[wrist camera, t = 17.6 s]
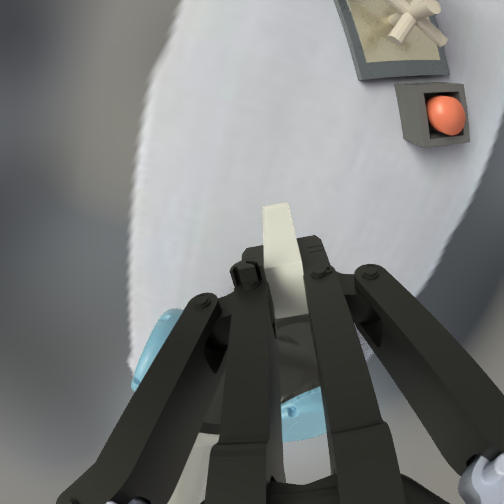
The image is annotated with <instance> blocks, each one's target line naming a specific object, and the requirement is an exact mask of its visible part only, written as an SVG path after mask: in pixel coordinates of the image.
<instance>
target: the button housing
mask: <svg viewBox="0 0 504 504" xmlns="http://www.w3.org/2000/svg"><path fill="white" fill-rule="evenodd" d="M394 86H395V90H396V95H397V101H398V106H399V112H400V118H401V124H402V130H403V138H404V139H405V140H408V141H410V142H412V143H414V144H417V145H419V146H421V147H423V148H428V147H435V146H442V145H450V144H458V143H467V142H470V135H469V123H468V113H467V105H466V97H465V91H464V85H463V84H457V83H446V82H425V83H407V84H394ZM433 95H441V96H448V97H453V98H455V99H457V100H458V101H459V102H460V103H461V105H462V106H463V108H464V111H465V124H464V127H463V129H462V130H461V132H460V133H458V134H456V135H448V134H445V133H442V132H439V131H436V130H434V129H432V128H431V127H430V126H429V125H428V118H427V111H426V105H425V102H426V101H427V99H428V98H429V97H431V96H433Z"/></svg>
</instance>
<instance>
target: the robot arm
mask: <svg viewBox="0 0 504 504" xmlns="http://www.w3.org/2000/svg"><path fill="white" fill-rule="evenodd" d="M230 274H231V277H232V280H233V284H234V287H235V289H234V291H233V292H232V293H230V294H229V295H226V296H224V297H221V298H217V296H216V295H215V294H213V293H202V294H199V295H197V296H195V297H194V298H192V299H191V300H190V301H189V302H188V304H187V306H186V307H185V309H184V310H181V309H170V310H168V311H166V312H165V313H164V314H163V315H162V316H161V317H160V319H159V320H158V322H157V323H156V325H155V327H154V329H153V331H152V333H151V335H150V337H149V339H148V341H147V343H146V345H145V348H144V350H143V352H142V354H141V357H140V359H139V362H138V365H137V367H136V370H135V375H134V378H133V381H132V384H131V387H132V390H133V391H135V393H134V395H133V396H132V398H131V400H130V402H129V403H128V405H127V407H126V409H125V410H124V412H123V414H122V416H121V417H120V419H119V421H118V423H117V424H116V426H115V428H114V430H113V432H112V433H111V435H110V437H109V439H108V441H107V442H106V444H105V446H104V448H103V450H102V451H101V453H100V455H99V457H98V459H97V461H96V462H95V463H94V464H93V465H92V466H91V467H90V468H89V469H88V470H87V471H86V472H85V473H84V474H83V475H82V476H81V477H79V478H78V479H77V480H76V481H75V482H74V483H73V484H72V485H71V486H69V487H68V488H67V489H66V490H65V491H64V492H63V493H62V494H61V495H60V496H59V497H58V499H57V502H56V504H450V503H448V502H446V501H445V500H443V499H442V498H440V497H439V496H437V495H435V494H434V493H432V492H431V491H429V490H428V489H426V488H425V487H423V486H422V485H420V484H419V483H417V482H416V481H414V480H413V479H411V478H409V477H407V476H405V475H403V474H400V470H399V465H398V461H397V456H396V452H395V448H394V444H393V439H392V435H391V432H390V429H389V426H388V424H387V423H386V422H384V421H383V420H382V417H381V414H380V410H379V407H378V403H377V399H376V395H375V392H374V388H373V385H372V381H371V378H370V374H369V371H368V367H367V364H366V360H365V357H364V354H363V351H362V347H361V344H360V341H359V338H358V335H357V332H356V328H355V325H356V327H357V329H358V330H359V331H360V333H361V334H362V336H363V337H364V338H365V340H366V341H367V343H368V344H369V345H370V347H371V348H372V350H373V351H374V353H375V354H376V355H377V357H378V358H379V360H380V361H381V362H382V364H383V366H384V367H385V368H386V370H387V371H388V373H389V374H390V376H391V377H392V379H393V380H394V382H395V383H396V385H397V386H398V388H399V389H400V390H401V392H402V393H403V395H404V396H405V398H406V399H407V401H408V402H409V404H410V405H411V407H412V409H413V410H414V412H415V413H416V414H417V416H418V417H419V419H420V421H421V422H422V424H423V425H424V427H425V428H426V430H427V431H428V433H429V435H430V436H431V438H432V440H433V441H434V443H435V444H436V446H437V447H438V449H439V451H440V452H441V454H442V455H443V457H444V458H445V460H446V461H447V462H448V464H449V465H450V466H451V467H452V468H453V469H454V470H455V471H456V472H457V474H459V475H460V476H461V478H460V481H459V486H458V490H459V494H460V496H461V497H462V498H463V500H464V501H465V503H466V504H504V395H503V394H502V392H501V391H500V390H499V389H498V387H497V386H496V385H495V384H494V383H493V381H492V380H491V379H490V378H489V377H488V376H487V374H486V373H485V372H484V371H483V370H482V368H481V367H480V366H479V365H478V364H477V363H476V362H475V361H474V359H473V358H472V357H471V356H470V355H469V354H468V353H467V351H465V349H464V348H463V347H462V346H461V345H460V344H459V343H458V342H457V341H456V339H455V338H454V337H453V336H452V335H451V334H450V333H449V332H448V331H447V330H446V329H445V328H444V327H443V326H442V325H441V324H440V323H439V322H438V321H437V319H436V318H435V317H434V316H432V314H431V313H430V312H429V311H428V310H427V309H426V308H425V307H424V306H423V305H422V304H421V303H420V302H419V301H417V299H416V298H415V297H414V296H413V295H412V294H411V293H410V292H409V291H407V290H406V289H405V288H404V287H403V286H402V285H401V284H400V283H399V282H398V281H397V280H396V279H395V278H394V277H393V276H392V275H391V274H390V273H389V272H387V271H386V270H385V269H384V268H383V267H381V266H379V265H375V264H366V265H362V266H360V267H358V268H357V269H356V271H355V274H342V273H338V272H336V271H335V269H334V268H333V267H332V266H331V265H330V263H329V260H328V257H327V254H326V252H325V249H324V246H323V244H322V241H321V239H320V238H318V237H317V236H315V235H313V236H307V237H302V238H296V234H295V230H294V226H293V222H292V218H291V213H290V209H289V205H288V202H285V203H280V204H274V205H269V206H264V207H263V245H261V246H256V247H250V248H246V250H245V251H244V252H243V254H242V261H240V262H238V263H236V264H234V265H233V266H232V267H231V269H230ZM354 323H355V325H354ZM324 433H327V439H328V447H329V455H330V467H331V475H330V476H328V477H326V478H323V479H320V480H317V481H315V482H312V483H309V484H306V485H296V484H288V483H286V479H285V473H284V466H283V442H291V441H299V440H304V439H309V438H313V437H316V436H319V435H322V434H324ZM206 482H207V485H206ZM205 486H206V496H205V500H204V501H203V502H201V500H202V497H203V493H204V489H205Z"/></svg>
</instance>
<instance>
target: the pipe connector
mask: <svg viewBox="0 0 504 504" xmlns="http://www.w3.org/2000/svg"><path fill="white" fill-rule="evenodd" d="M384 1H386V2H387V3H388V4H390V5H391V6H392V7H394V8H395V9H396V10H398V11H399V12H397V13H394V14H392V15H390V16H389V18H388V20H389V23H390V24H391V25H392V26H394V28H393V30H392V31H391V33H390V34H389V35H388V39H389V40H390V41H391V42H393V43H394V44H396V45H398V46H401V45H402V44H403V43H404V41H405V40H406V38H407V37H408V35H409V34H410V32H411V30H412V29H413V27H414V26H415V25H416V26H417V27H418V28H419V29H420V30H421V31H423V32H424V33H425V34H426V35H427V36H428V37H429V38H430V39H431V40H432V41H433V42H434V43H435V44H436V45H437V46H438V47H442V46H443V45H445V44H446V43H447V41H448V39H447V37H446V36H445V35H444V34H443V33H442V32H441V31H440V30H438V29H437V28H436V27H435V26H434V25H433V24H432V23H431V22H430V21H429V20H428V19H427V18H426V17H429V16H432V15H436V14H439V13H440V12H441V7H440V5H439V4H438V2H437V1H435V0H412V2H411V3H410V4H409V3H408V2H407V1H405V0H384Z"/></svg>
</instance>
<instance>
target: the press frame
mask: <svg viewBox="0 0 504 504" xmlns="http://www.w3.org/2000/svg"><path fill="white" fill-rule="evenodd" d="M405 1H407V2H408V3H409V4H410V3H411V2H412V0H405ZM334 2H335V5H336V8H337V11H338V13H339V16H340V19H341V22H342V25H343V28H344V31H345V34H346V38H347V41H348V44H349V48H350V51H351V55H352V58H353V62H354V65H355V69H356V73H357V77H358V80H366V79H376V78H386V77H399V76H417V75H449V71H448V66H447V61H446V57H445V53H444V49H443V46H442V47H438V46H437V45H436V44H435V43H434V42H433V41H432V40H431V39H430V38H429V37H428V36H427V35H426V34H425V33H424V32H423V31H421V30H420V29H419V28H418V27H417V26H416V25H415V26H414V27H413V29H412V30H411V32H410V34H409V35H408V37H407V38H406V40H405V41H404V43H403V44H402V45H401V46H398V45H396V44H394V43H393V42H391V41H390V40H389V39H388V35H389V34H390V33H391V31H392V30H393V28H394V26H392V25H391V24H390V23H389V20H388V18H389V16H390V15H392V14H394V13H397V12H399V11H398V10H396V9H395V8H394V7H392V6H391V5H390V4H388V3H387V2H386V1H384V0H334ZM426 18H427V19H428V20H429V21H430V22H431V23H432V24H433V25H434V26H435V27H436V28H437V29H438V27H437V23H436V20H435V17H434V15H432V16H429V17H426Z"/></svg>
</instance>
